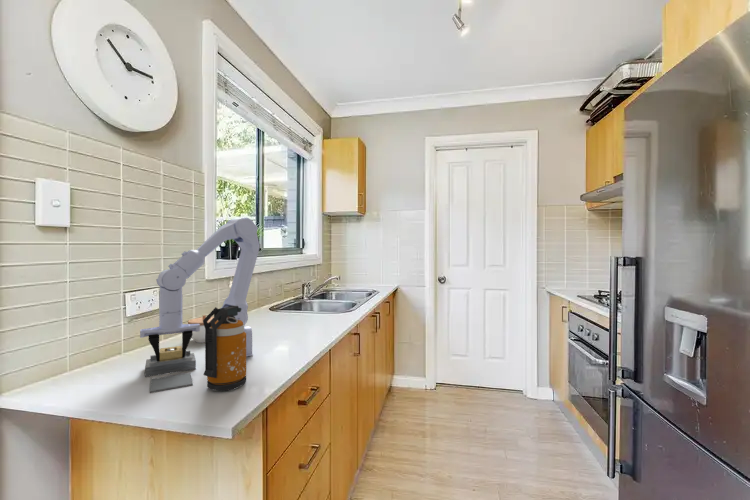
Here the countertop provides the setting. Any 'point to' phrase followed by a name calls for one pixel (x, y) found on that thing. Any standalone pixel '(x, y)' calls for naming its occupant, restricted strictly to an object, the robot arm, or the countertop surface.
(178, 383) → the rubber mat
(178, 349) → the brass square ring
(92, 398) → the countertop surface
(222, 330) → the canister
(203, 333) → the lidded jar
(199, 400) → the countertop surface
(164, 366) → the block
